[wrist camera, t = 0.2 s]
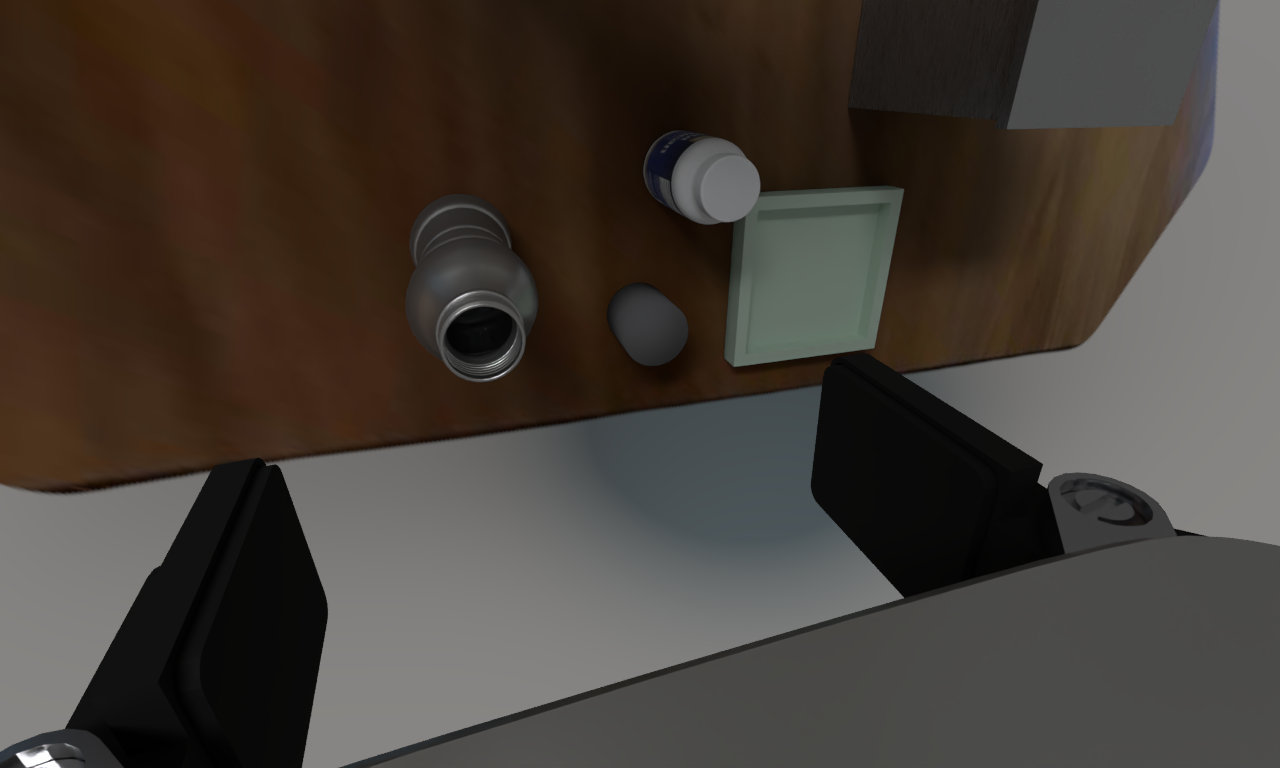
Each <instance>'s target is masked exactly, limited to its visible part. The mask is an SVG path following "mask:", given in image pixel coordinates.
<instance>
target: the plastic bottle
mask: <svg viewBox="0 0 1280 768" xmlns="http://www.w3.org/2000/svg"><path fill="white" fill-rule="evenodd" d="M410 252H411V256H412V259H413V262H414V265H415V267H416V269H415V271H414V273H413V274H412V277H411V280H410V283H409V286H408V289H407V293H406V303H405V306H406V315H407V319H408V322H409V325H410V328H411V330H412V332H413V333H414V335H415V337H416V338H417V340H418V341H419V342H420V343H421V344H422V345H423V346H424V347H425V348H426V349H427V350H428V351H429V352H430V353H431V354H433V355H434V356H435V357H437V358H438V359H440V360H442V361H444V362H445V364H446V366H447V367H448V368H449V369H450V370H451V371H452V372H453V373H454V374H456V375H457V376H458V377H461V378H463V379H465V380H468V381H473V382H488V381H493V380H496V379H499V378H501V377H503V376H505V375H506V374H508V373H509V372H510V371H512V370H513V369H514V368H515V366H516V365H517V364H518V363H519V361H520V360H521V358H522V355H523V353H524V350H525V344H526V338H527V336H528V335H529V333H530V331H531V329H532V326H533V324H534V321H535V319H536V314H537V309H538V292H537V288H536V284H535V281H534V279H533V276H532V274H531V272H530V270H529V269H528V268H527V266H526V265H525V264H524V262H523V261H522V260H521V259H520V257H519V256H517V255H516V254H515V253H514V252H513V251H512V238H511V233H510V229H509V227H508V225H507V222H506V220H505V219H504V217H503V216H502V214H501V213H500V212H499V211H498V210H497V209H496V208H495V207H494V206H493V205H492V204H490V203H488V202H487V201H485V200H484V199H481V198H478V197H476V196H472V195H466V194H452V195H448V196H444V197H442V198H439V199H437V200H435V201H433V202H432V203H431V204H429V205H428V206H427V207H425V208H424V210H423V211H422V212H421V213H420V214H419V215H418V217H417V219H416V221H415V222H414V224H413V227H412V230H411V234H410Z"/></svg>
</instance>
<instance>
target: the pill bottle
mask: <svg viewBox="0 0 1280 768" xmlns="http://www.w3.org/2000/svg"><path fill="white" fill-rule="evenodd" d="M643 173H644V180H645V183H646V186H647V188H648V190H649V192H650V193H651V195H652V196H653V197H654V198H655V199H656V200H657V201H659V202H660V203H662V204H663V205H665V206H667V207H669V208H670V209H672V210H674V211H676V212H677V213H679V214H681V215H683V216H685V217H686V218H688V219H690V220H692V221H694V222H697V223H700V224H717V223H720V222H733V221H737V220H739V219H741V218H743V217H744V216H746V215H747V214H748V213H749V212H750V211H751V210H752V209H753V207H754V205H755V204H756V202H757V199H758V196H759V193H760V178H759V174H758V171H757V169H756V168H755V166H754V165H753V164H752V163H751V162H750V161H749V160H748V159H746V157H745V155H744V154H743V152H742V151H741V150H740V149H739V148H738V147H737V146H736V145H734V144H733V143H731V142H729V141H727V140H724V139H721V138H717V137H713V136H709V135H703V134H699V133H694V132H690V131H684V130H678V131H672V132H669V133H666V134H665V135H663V136H661V137H660V138H658V139H657V140H656V141H655V142H654V143H653V145H652V146H651V147H650V149H649V151H648V153H647V155H646V158H645V161H644V169H643Z"/></svg>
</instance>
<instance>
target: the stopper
mask: <svg viewBox="0 0 1280 768" xmlns="http://www.w3.org/2000/svg"><path fill="white" fill-rule="evenodd" d="M607 321H608V325H609V327H610V329H611V330H612V332H613V333H614V335H615V336H616V337H617V339H618V340H619V341H620V343H621V344H622V346H623V347H624V348H625V350H626V351H627V352H628V354H629V355H630V356H631V358H633V359H634V360H635V361H636V362H638V363H640V364H643V365H647V366H658V365H662V364H665V363H667V362H669V361H671V360H672V359H673V358H675V357H676V356H677V355H678V354H679V353H680V352H681V350H682V349H683V347H684V345H685V343H686V341H687V337H688V323H687V320H686V318H685V316H684V314H683V313H682V312H681V311H680V310H679V309H678V308H677V307H676V306H675V305H674V304H673V303H672V302H671V301H670V300H669V299H667V298H666V297H665V296H664V295H663V294H662V293H661V292H660V291H659V290H658V289H656V288H655V287H654V286H652V285H649V284H646V283H633V284H629V285H627V286H625V287H623V288H622V289H620V290H619V291H618V292H617V293H616V294H615V295H614V296H613V298H612V299H611V301H610V303H609V306H608V310H607Z"/></svg>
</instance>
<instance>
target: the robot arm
mask: <svg viewBox="0 0 1280 768" xmlns="http://www.w3.org/2000/svg"><path fill="white" fill-rule="evenodd" d="M1042 466H1043V464H1042V463H1040V462H1039V461H1037V460H1036V459H1034V458H1033V457H1031V456H1029V455H1028V454H1026V453H1025V452H1023V451H1021V450H1020V449H1018V448H1017V447H1015V446H1013V445H1012V444H1010V443H1009V442H1007V441H1006V440H1004V439H1002V438H1001V437H999V436H998V435H996V434H994V433H993V432H991V431H990V430H988V429H986V428H985V427H983V426H982V425H980V424H978V423H977V422H975V421H974V420H972V419H971V418H969V417H967V416H966V415H964V414H963V413H961V412H959V411H958V410H956V409H955V408H953V407H951V406H949V405H948V404H947V403H945V402H944V401H942V400H940V399H939V398H937V397H936V396H934V395H932V394H931V393H929V392H928V391H926V390H924V389H923V388H921V387H920V386H918V385H916V384H915V383H913V382H912V381H910V380H909V379H907V378H905V377H904V376H902V375H901V374H899V373H897V372H896V371H894V370H893V369H891V368H890V367H888V366H886V365H885V364H883V363H882V362H880V361H878V360H877V359H875V358H874V357H872V356H870V355H869V354H866V353H861V354H855V355H850V356H844V357H838V358H836V359H834V360H833V361H832V363H831V365H830V367H828V368H826V370H825V372H824V376H823V384H822V392H821V401H820V409H819V419H818V426H817V435H816V444H815V452H814V461H813V471H812V478H811V490H812V494H813V496H814V499H815V500H816V502H817V503H818V504H819V505H820V507H822V509H823V510H824V511H825V512H826V513H827V514H828V515H829V516H830V517H831V518H832V520H833V521H834V522H835V523H836V524H837V525H838V526H839V527H840V528H841V529H842V530H843V532H844V533H845V534H846V535H847V536H848V537H849V538H850V539H851V540H852V541H853V542H854V544H855V545H856V546H857V547H858V548H859V549H860V550H861V551H862V552H863V553H864V554H865V555H866V557H867V558H868V559H869V560H870V561H871V562H872V563H873V564H874V565H875V566H876V567H877V569H878V570H879V571H880V572H881V573H882V574H883V575H884V576H885V577H886V578H887V579H888V581H889V582H890V583H891V584H892V585H893V586H894V587H895V588H896V589H897V590H898V591H899V593H900V594H901V595H902V596H903V597H904V599H900V600H897V601H893V602H890V603H886V604H883V605H880V606H876V607H872V608H869V609H865V610H862V611H859V612H855V613H852V614H848V615H845V616H841V617H838V618H834V619H831V620H827V621H824V622H821V623H818V624H814V625H811V626H807V627H803V628H800V629H797V630H793V631H790V632H786V633H783V634H780V635H776V636H773V637H769V638H766V639H763V640H759V641H756V642H752V643H749V644H746V645H742V646H739V647H735V648H732V649H729V650H725V651H722V652H718V653H715V654H712V655H708V656H705V657H702V658H698V659H695V660H691V661H688V662H685V663H681V664H678V665H675V666H671V667H668V668H664V669H661V670H658V671H654V672H651V673H647V674H644V675H641V676H637V677H634V678H631V679H627V680H624V681H621V682H617V683H614V684H611V685H607V686H604V687H601V688H597V689H594V690H591V691H587V692H584V693H581V694H577V695H574V696H571V697H568V698H564V699H561V700H557V701H554V702H551V703H547V704H544V705H541V706H538V707H534V708H531V709H528V710H524V711H521V712H518V713H514V714H511V715H508V716H504V717H501V718H498V719H494V720H491V721H488V722H484V723H481V724H478V725H474V726H471V727H468V728H464V729H461V730H458V731H454V732H451V733H448V734H445V735H441V736H438V737H435V738H432V739H429V740H425V741H422V742H419V743H416V744H413V745H409V746H406V747H403V748H400V749H397V750H394V751H391V752H387V753H384V754H381V755H378V756H374V757H371V758H368V759H365V760H362V761H358V762H355V763H352V764H349V765H346V766H343V767H340V768H1280V546H1277V545H1272V544H1266V543H1260V542H1255V541H1249V540H1242V539H1234V538H1224V537H1223V538H1222V537H1208V536H1204V535H1199V534H1195V533H1191V532H1186V531H1182V530H1177V529H1174V528H1173V527H1172V524H1171V523H1170V521H1169V519H1168V517H1167V515H1166V513H1165V511H1164V510H1163V509H1162V507H1161V506H1160V505H1159V503H1158V502H1156V501H1155V500H1154V499H1153V498H1151V497H1150V496H1149V495H1147V494H1146V493H1144V492H1142V491H1140V490H1139V489H1137V488H1135V487H1133V486H1131V485H1129V484H1126V483H1124V482H1121V481H1118V480H1115V479H1112V478H1109V477H1104V476H1100V475H1096V474H1088V473H1065V474H1062V475H1059V476H1056V477H1054V478H1053V479H1052V480H1051V481H1050V483H1049V485H1048V488H1047V489H1046V488H1045V487H1043V486H1042V485H1040V484H1039V483H1037V481H1038V478H1039V475H1040V472H1041V469H1042ZM327 619H328V607H327V600H326V596H325V592H324V590H323V587H322V584H321V581H320V579H319V576H318V573H317V570H316V567H315V564H314V562H313V559H312V556H311V553H310V550H309V547H308V544H307V542H306V539H305V536H304V534H303V531H302V528H301V525H300V522H299V519H298V516H297V514H296V511H295V508H294V505H293V502H292V499H291V497H290V494H289V491H288V488H287V485H286V483H285V480H284V477H283V474H282V472H281V469H280V468H279V466H277V465H276V464H275V465H270V466H266V464H265V463H264V461H263V460H262V459H260V458H254V459H249V460H243V461H237V462H231V463H226V464H220V465H216V466H214V468H213V469H212V471H211V472H210V474H209V476H208V478H207V480H206V482H205V484H204V486H203V487H202V489H201V491H200V493H199V495H198V497H197V499H196V501H195V503H194V504H193V506H192V508H191V510H190V512H189V514H188V516H187V518H186V519H185V521H184V523H183V525H182V527H181V529H180V531H179V533H178V534H177V536H176V539H175V540H174V542H173V544H172V546H171V548H170V550H169V551H168V553H167V555H166V557H165V559H164V562H163V563H162V565H161V566H159V567H157V568H155V569H154V570H153V571H152V572H151V574H150V575H149V576H148V578H147V579H146V581H145V583H144V585H143V587H142V588H141V590H140V592H139V594H138V596H137V597H136V600H135V601H134V603H133V605H132V607H131V608H130V610H129V612H128V614H127V616H126V618H125V620H124V621H123V623H122V625H121V627H120V629H119V630H118V632H117V634H116V636H115V638H114V640H113V641H112V643H111V645H110V647H109V649H108V651H107V653H106V654H105V656H104V658H103V660H102V662H101V663H100V665H99V667H98V669H97V671H96V673H95V675H94V676H93V678H92V680H91V682H90V684H89V685H88V688H87V689H86V691H85V693H84V695H83V696H82V698H81V700H80V702H79V704H78V706H77V707H76V710H75V711H74V713H73V715H72V717H71V719H70V720H69V723H68V724H67V726H66V728H65V729H63V730H58V731H53V732H48V733H42V734H39V735H37V736H35V737H32V738H29V739H27V740H24V741H21V742H19V743H16V744H14V745H12V746H10V747H8V748H6V749H4V750H3V751H1V752H0V768H302V763H303V758H304V751H305V746H306V740H307V735H308V729H309V723H310V717H311V711H312V706H313V700H314V694H315V689H316V683H317V677H318V671H319V665H320V659H321V654H322V648H323V642H324V637H325V631H326V624H327Z"/></svg>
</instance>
